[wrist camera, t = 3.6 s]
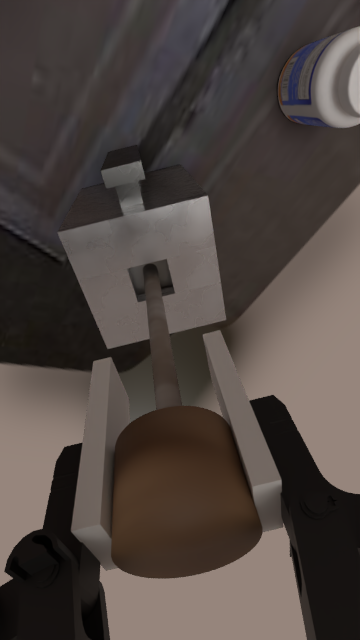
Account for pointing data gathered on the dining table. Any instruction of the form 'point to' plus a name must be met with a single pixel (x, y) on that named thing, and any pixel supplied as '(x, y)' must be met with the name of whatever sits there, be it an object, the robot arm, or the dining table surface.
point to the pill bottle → (323, 82)
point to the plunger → (177, 472)
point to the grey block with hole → (143, 247)
